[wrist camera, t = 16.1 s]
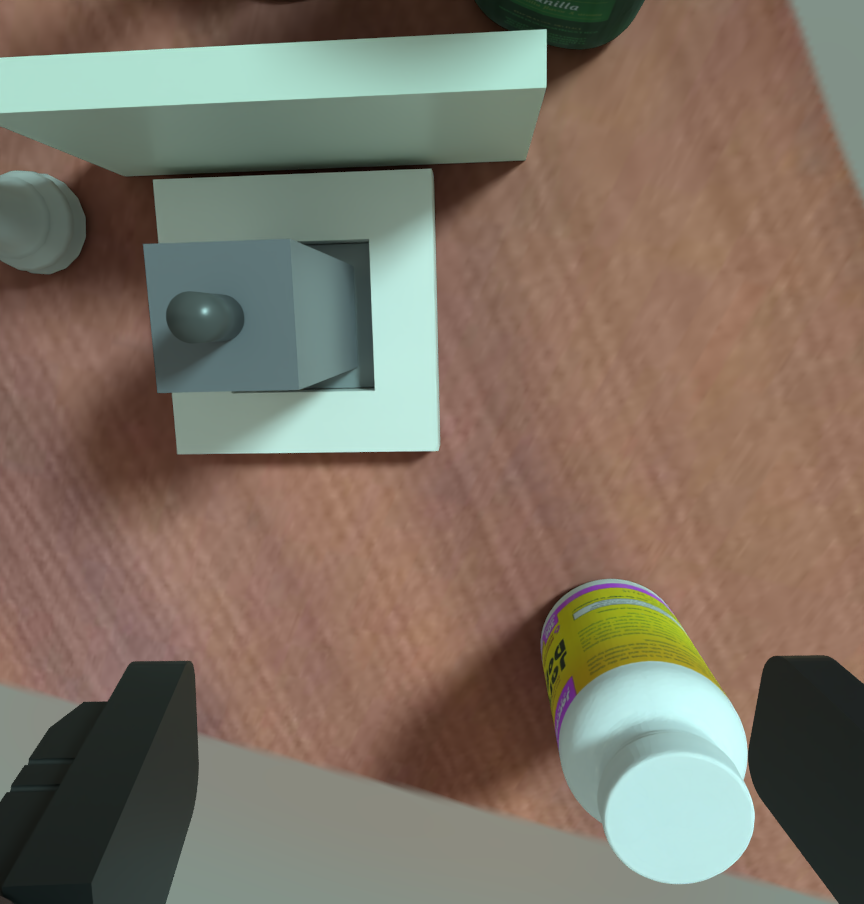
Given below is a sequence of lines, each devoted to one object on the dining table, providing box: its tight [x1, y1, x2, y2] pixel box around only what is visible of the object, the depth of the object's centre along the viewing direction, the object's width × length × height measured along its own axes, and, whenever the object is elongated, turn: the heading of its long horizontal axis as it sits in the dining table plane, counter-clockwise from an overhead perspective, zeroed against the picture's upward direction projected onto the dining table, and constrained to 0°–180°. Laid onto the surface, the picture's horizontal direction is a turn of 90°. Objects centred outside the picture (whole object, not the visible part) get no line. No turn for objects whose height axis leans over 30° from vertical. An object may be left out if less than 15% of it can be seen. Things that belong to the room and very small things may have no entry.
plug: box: [143, 239, 358, 393], centre depth 26 cm, size 4×5×13 cm
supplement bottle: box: [541, 579, 755, 884], centre depth 29 cm, size 7×7×13 cm
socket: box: [0, 29, 547, 454], centre depth 28 cm, size 18×14×10 cm
